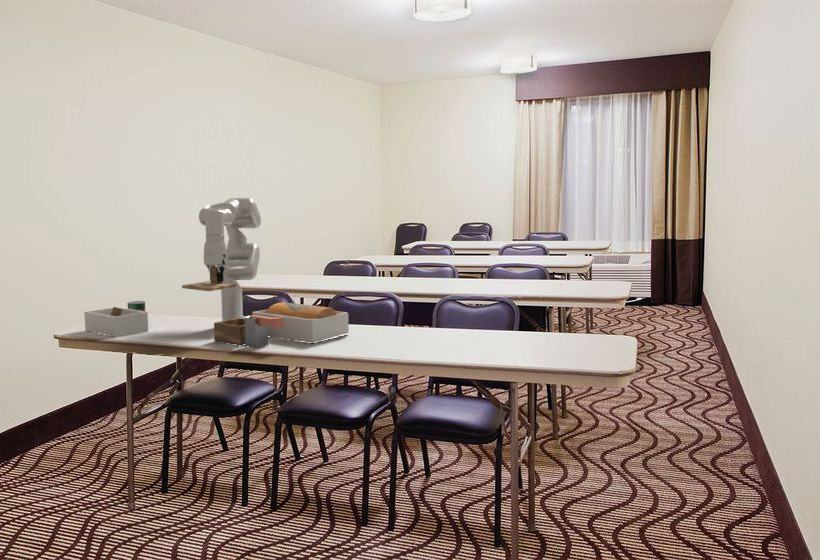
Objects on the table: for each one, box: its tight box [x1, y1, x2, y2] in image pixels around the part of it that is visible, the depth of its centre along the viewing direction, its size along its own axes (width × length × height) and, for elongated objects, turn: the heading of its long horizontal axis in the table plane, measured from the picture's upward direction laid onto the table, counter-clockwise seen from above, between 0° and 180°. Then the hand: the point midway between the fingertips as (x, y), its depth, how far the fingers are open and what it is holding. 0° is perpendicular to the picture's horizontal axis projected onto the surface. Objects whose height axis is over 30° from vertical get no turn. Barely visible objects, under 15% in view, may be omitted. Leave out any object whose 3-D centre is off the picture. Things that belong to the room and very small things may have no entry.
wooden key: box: [248, 315, 284, 329], centre depth 272 cm, size 4×16×4 cm, turn 55°
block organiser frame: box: [83, 306, 149, 338], centre depth 307 cm, size 16×24×9 cm, turn 55°
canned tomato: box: [126, 300, 146, 312], centre depth 323 cm, size 8×8×11 cm
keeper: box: [245, 316, 269, 349], centre depth 275 cm, size 7×6×12 cm
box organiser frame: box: [251, 308, 350, 343], centre depth 299 cm, size 23×36×10 cm, turn 55°
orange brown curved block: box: [266, 302, 338, 320], centre depth 297 cm, size 30×16×14 cm, turn 55°
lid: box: [181, 266, 236, 292], centre depth 288 cm, size 15×17×8 cm
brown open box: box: [213, 318, 246, 346], centre depth 286 cm, size 14×16×8 cm
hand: (216, 280), depth 292 cm, fingers closed on lid, 3 cm apart
